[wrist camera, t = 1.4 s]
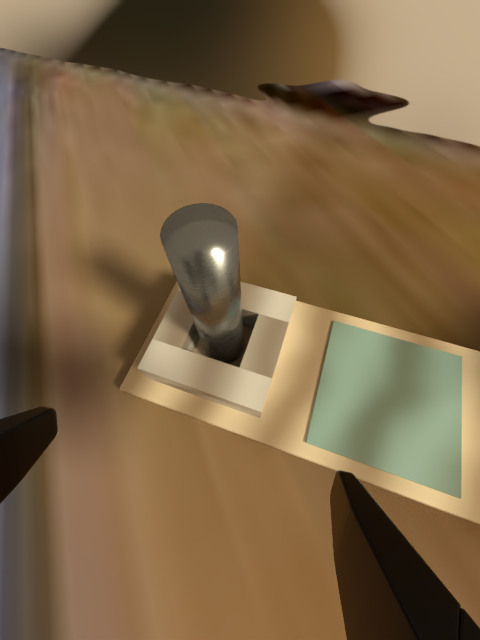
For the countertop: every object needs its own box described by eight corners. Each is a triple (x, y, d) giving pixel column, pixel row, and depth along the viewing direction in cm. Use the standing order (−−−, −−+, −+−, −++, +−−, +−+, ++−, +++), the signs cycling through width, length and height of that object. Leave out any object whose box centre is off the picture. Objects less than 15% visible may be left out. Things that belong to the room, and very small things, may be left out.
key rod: (212, 370, 22) (172, 272, 11) (199, 336, 24) (152, 216, 12) (249, 355, 23) (249, 246, 11) (235, 322, 24) (222, 195, 13)
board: (124, 392, 23) (100, 379, 19) (184, 275, 28) (175, 248, 24) (473, 522, 18) (528, 537, 15) (471, 356, 23) (512, 336, 20)
